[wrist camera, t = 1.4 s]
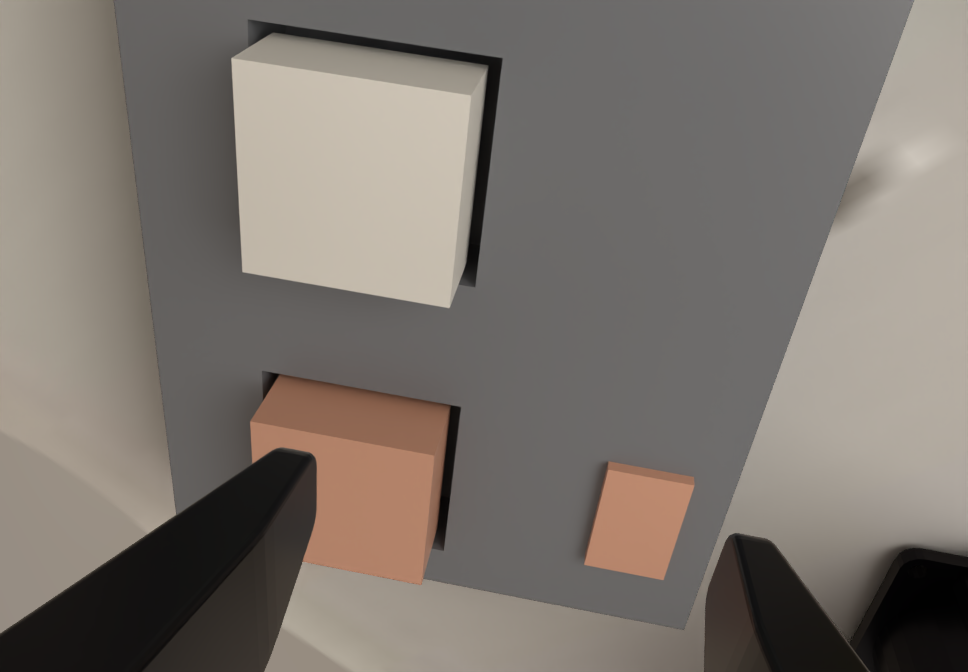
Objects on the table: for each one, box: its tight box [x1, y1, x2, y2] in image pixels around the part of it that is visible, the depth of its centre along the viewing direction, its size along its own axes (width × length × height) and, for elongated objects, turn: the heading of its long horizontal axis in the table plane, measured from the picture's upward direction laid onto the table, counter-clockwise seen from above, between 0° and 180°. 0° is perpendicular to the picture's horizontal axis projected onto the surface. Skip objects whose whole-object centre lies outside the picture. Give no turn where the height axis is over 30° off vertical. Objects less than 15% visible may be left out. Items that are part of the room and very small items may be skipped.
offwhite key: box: [231, 32, 489, 308], centre depth 16 cm, size 4×4×2 cm
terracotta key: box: [250, 374, 451, 585], centre depth 21 cm, size 4×4×2 cm
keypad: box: [114, 0, 914, 630], centre depth 18 cm, size 23×14×3 cm, turn 173°
